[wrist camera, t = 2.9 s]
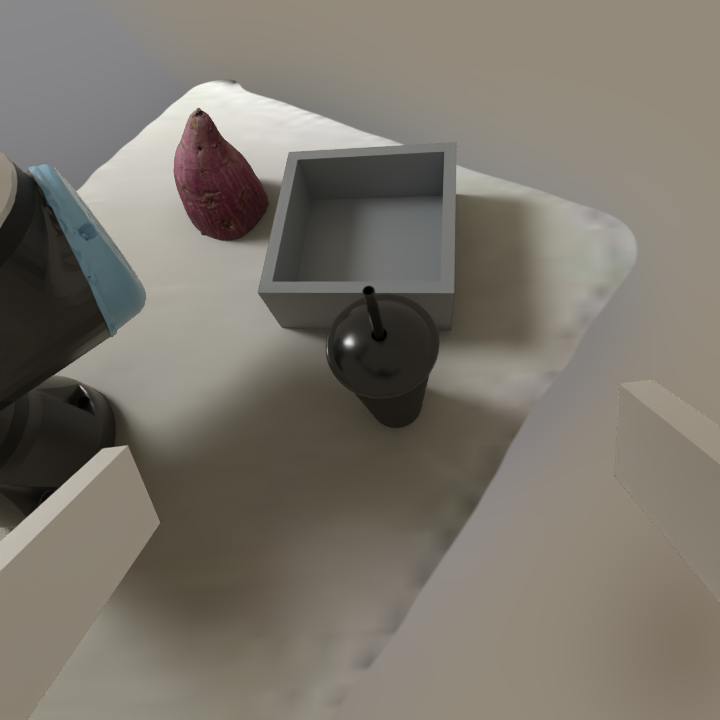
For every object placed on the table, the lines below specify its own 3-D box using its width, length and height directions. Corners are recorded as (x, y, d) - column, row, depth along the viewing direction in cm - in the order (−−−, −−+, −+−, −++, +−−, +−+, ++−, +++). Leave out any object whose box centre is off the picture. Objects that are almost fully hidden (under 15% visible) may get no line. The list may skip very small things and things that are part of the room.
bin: (281, 327, 46) (257, 292, 40) (305, 199, 53) (288, 152, 47) (450, 330, 43) (454, 293, 37) (453, 193, 50) (456, 142, 44)
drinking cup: (362, 449, 40) (305, 369, 21) (352, 374, 43) (294, 249, 25) (444, 435, 39) (456, 339, 21) (427, 360, 42) (424, 220, 24)
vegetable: (278, 198, 58) (271, 84, 45) (257, 253, 53) (243, 143, 40) (202, 182, 58) (174, 63, 45) (174, 236, 53) (132, 119, 40)
